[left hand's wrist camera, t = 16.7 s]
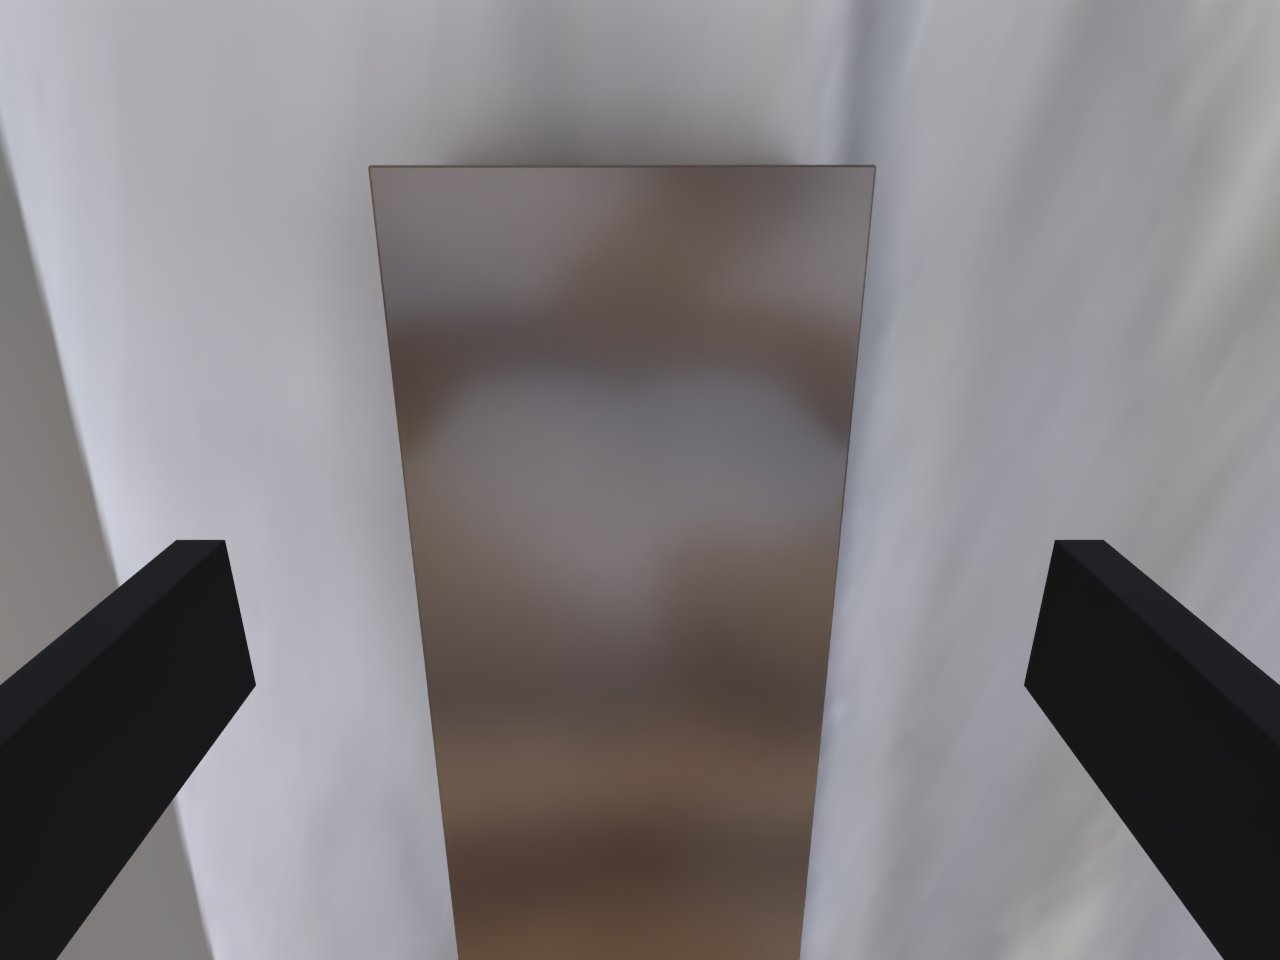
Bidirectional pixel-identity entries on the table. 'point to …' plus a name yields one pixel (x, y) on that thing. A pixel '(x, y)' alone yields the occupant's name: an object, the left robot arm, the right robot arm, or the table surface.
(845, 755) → the table surface
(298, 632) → the table surface
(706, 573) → the thick board
